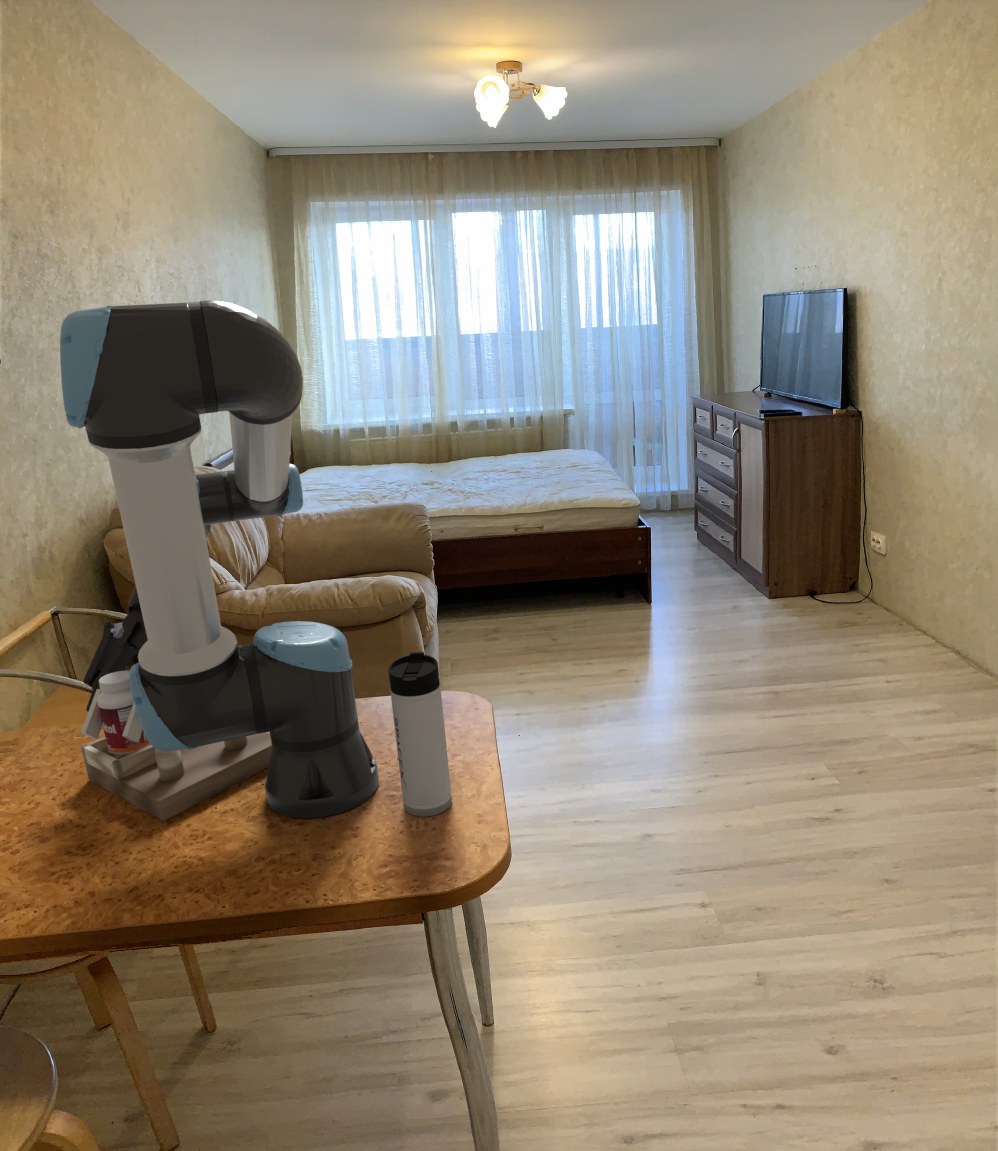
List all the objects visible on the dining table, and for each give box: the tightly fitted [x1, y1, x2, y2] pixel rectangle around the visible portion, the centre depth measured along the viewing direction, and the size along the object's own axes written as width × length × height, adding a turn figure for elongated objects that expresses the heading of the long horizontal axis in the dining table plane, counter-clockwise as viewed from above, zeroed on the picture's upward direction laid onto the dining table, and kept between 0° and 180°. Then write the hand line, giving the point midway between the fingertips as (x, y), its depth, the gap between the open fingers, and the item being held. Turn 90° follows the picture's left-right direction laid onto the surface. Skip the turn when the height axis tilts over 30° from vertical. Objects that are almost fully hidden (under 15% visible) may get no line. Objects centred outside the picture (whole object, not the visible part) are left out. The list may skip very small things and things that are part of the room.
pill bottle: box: [97, 670, 151, 756], centre depth 126 cm, size 6×6×11 cm
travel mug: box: [388, 651, 453, 818], centre depth 112 cm, size 6×7×20 cm
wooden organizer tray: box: [80, 732, 272, 822], centre depth 128 cm, size 20×20×7 cm
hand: (109, 737), depth 123 cm, fingers closed on pill bottle, 6 cm apart
